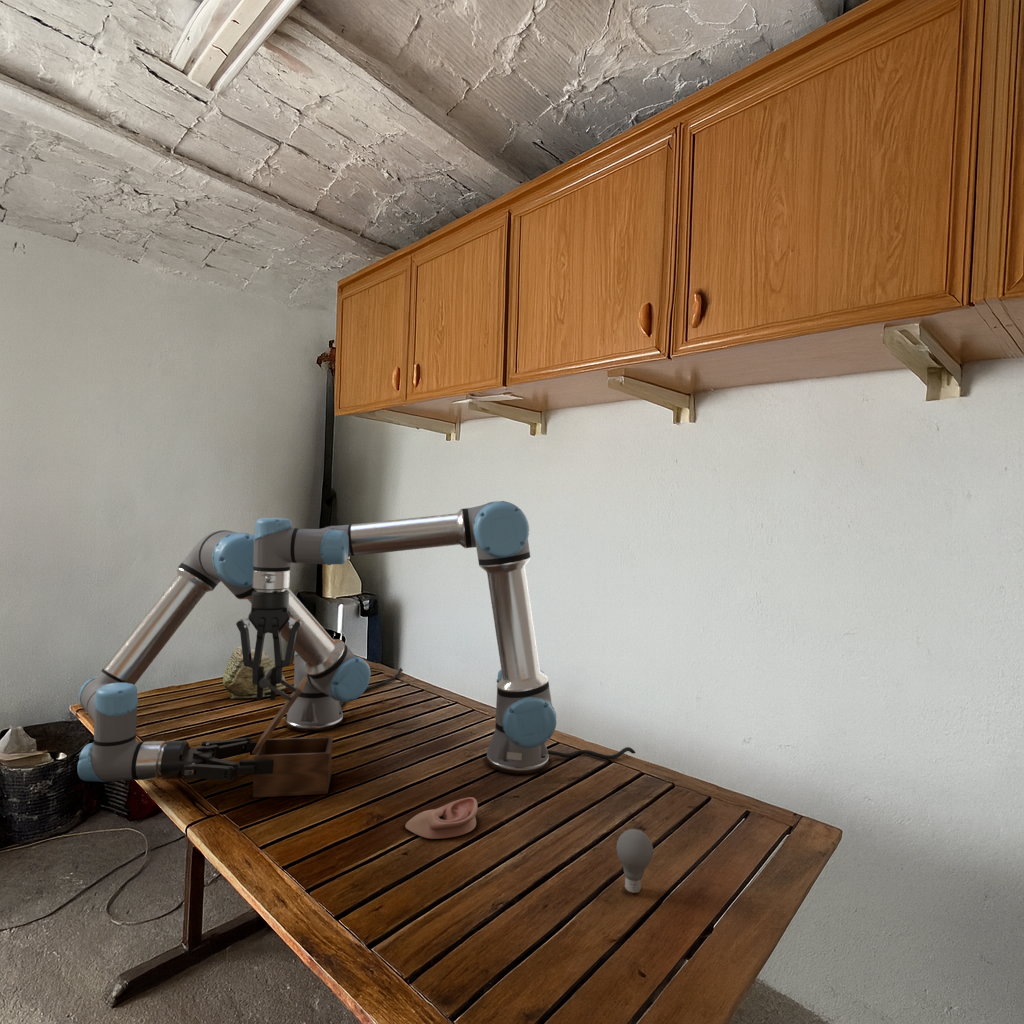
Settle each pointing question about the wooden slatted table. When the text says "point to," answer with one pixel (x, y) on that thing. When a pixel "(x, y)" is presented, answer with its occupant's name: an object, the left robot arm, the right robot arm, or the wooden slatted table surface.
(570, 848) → the wooden slatted table surface
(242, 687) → the fossil
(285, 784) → the chest
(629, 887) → the light bulb
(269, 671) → the lid
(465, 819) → the anatomical model
